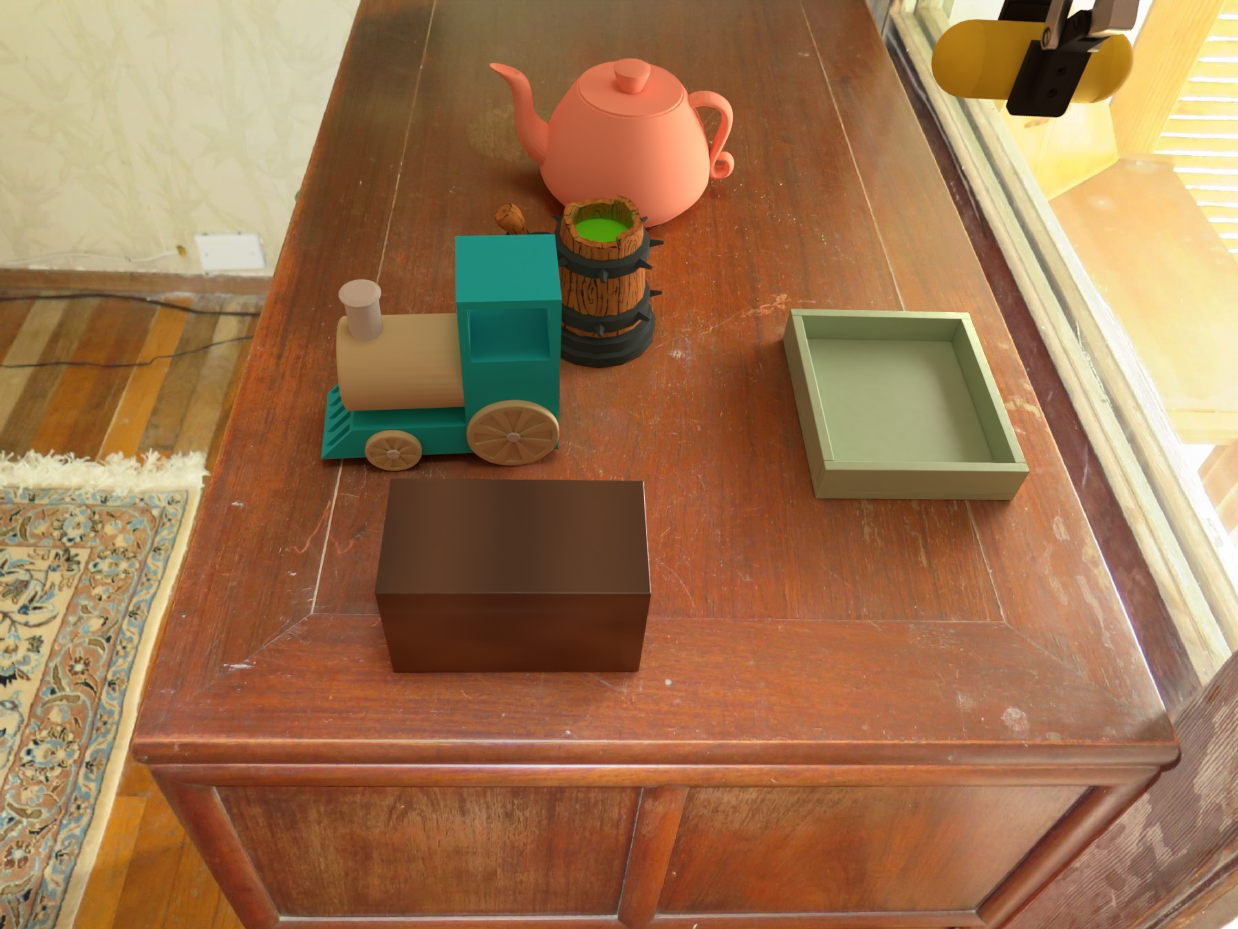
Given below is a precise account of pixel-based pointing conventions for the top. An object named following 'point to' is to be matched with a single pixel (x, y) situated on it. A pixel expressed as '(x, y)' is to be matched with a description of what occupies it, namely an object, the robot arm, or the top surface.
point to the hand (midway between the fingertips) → (1022, 87)
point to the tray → (900, 407)
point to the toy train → (454, 363)
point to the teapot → (624, 138)
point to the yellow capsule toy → (1018, 61)
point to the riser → (514, 575)
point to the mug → (599, 278)
